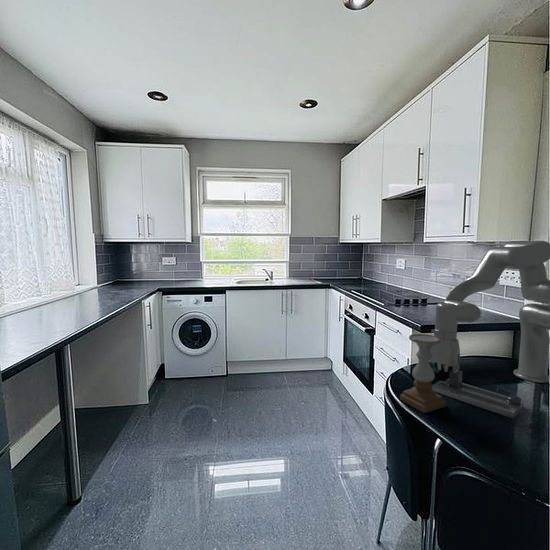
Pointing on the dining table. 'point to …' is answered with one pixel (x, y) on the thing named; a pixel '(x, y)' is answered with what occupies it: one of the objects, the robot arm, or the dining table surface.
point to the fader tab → (455, 378)
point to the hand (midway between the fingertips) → (443, 380)
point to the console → (481, 398)
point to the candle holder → (423, 377)
